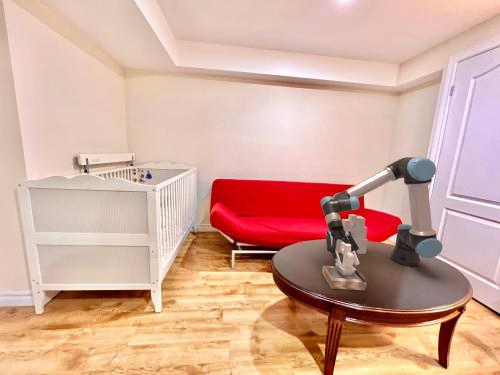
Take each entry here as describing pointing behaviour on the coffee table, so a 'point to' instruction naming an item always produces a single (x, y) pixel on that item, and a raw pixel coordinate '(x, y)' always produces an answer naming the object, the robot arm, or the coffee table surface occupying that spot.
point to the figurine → (346, 260)
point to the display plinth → (344, 279)
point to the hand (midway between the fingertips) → (348, 265)
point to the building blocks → (354, 233)
